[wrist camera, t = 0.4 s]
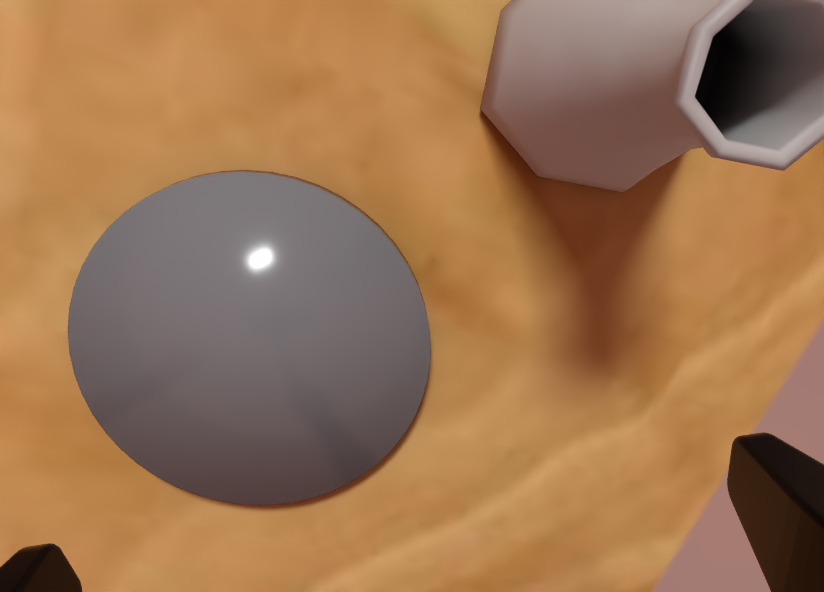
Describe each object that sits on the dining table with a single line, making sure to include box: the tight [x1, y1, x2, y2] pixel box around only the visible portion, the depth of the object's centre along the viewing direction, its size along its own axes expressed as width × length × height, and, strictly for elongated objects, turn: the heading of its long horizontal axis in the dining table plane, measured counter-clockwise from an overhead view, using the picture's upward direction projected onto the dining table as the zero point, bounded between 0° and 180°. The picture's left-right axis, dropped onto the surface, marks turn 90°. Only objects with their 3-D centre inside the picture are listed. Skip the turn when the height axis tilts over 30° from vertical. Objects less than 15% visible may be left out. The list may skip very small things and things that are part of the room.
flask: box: [480, 0, 824, 192], centre depth 16 cm, size 7×7×10 cm
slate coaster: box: [68, 170, 431, 505], centre depth 23 cm, size 12×12×1 cm
